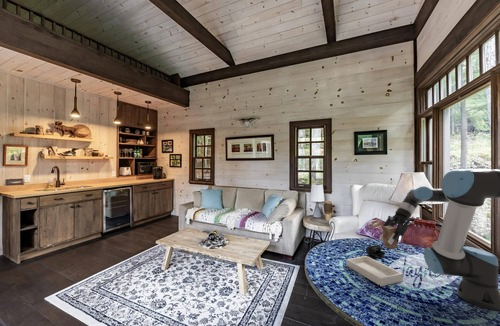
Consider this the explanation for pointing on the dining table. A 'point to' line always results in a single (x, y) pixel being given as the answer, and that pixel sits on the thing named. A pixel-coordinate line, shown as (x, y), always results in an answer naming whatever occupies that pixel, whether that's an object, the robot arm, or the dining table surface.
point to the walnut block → (386, 236)
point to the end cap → (375, 251)
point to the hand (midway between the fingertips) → (385, 241)
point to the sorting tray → (374, 270)
